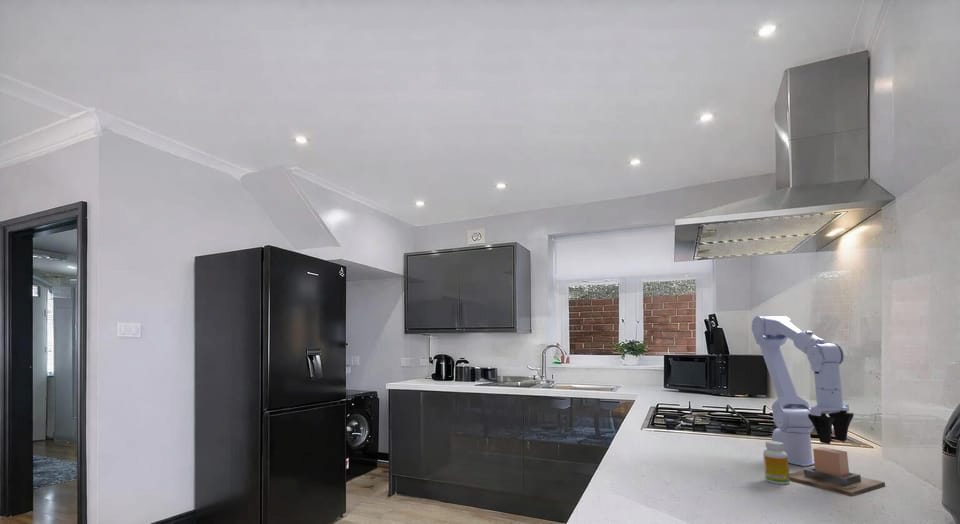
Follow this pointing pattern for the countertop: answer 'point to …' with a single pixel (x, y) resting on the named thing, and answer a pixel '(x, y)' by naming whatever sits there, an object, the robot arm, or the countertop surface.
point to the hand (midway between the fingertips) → (833, 441)
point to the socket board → (836, 481)
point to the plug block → (831, 461)
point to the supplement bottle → (776, 463)
